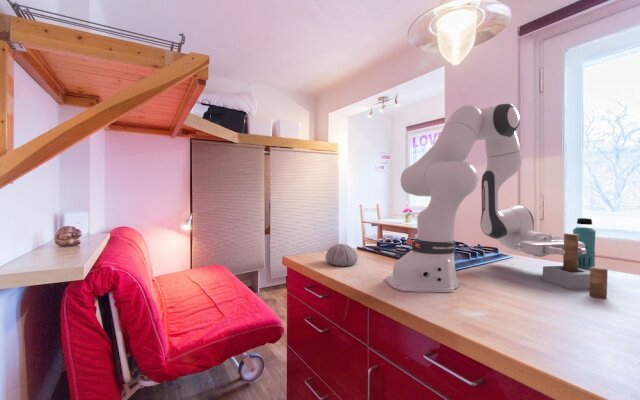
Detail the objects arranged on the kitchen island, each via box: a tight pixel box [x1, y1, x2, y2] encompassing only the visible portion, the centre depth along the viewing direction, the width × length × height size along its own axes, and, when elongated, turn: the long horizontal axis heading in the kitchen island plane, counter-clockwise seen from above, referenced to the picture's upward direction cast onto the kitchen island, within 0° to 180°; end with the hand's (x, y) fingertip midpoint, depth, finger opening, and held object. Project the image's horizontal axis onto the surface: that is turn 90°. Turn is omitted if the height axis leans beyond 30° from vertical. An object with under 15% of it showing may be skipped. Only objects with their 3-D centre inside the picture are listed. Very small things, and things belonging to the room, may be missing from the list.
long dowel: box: [562, 233, 579, 272], centre depth 95 cm, size 4×4×16 cm
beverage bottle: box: [572, 217, 596, 271], centre depth 108 cm, size 6×7×20 cm
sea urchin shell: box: [325, 243, 359, 267], centre depth 122 cm, size 13×14×8 cm
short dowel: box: [588, 266, 609, 300], centre depth 84 cm, size 4×4×8 cm
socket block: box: [542, 265, 590, 291], centre depth 95 cm, size 10×10×4 cm
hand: (573, 252), depth 94 cm, fingers open, 6 cm apart
